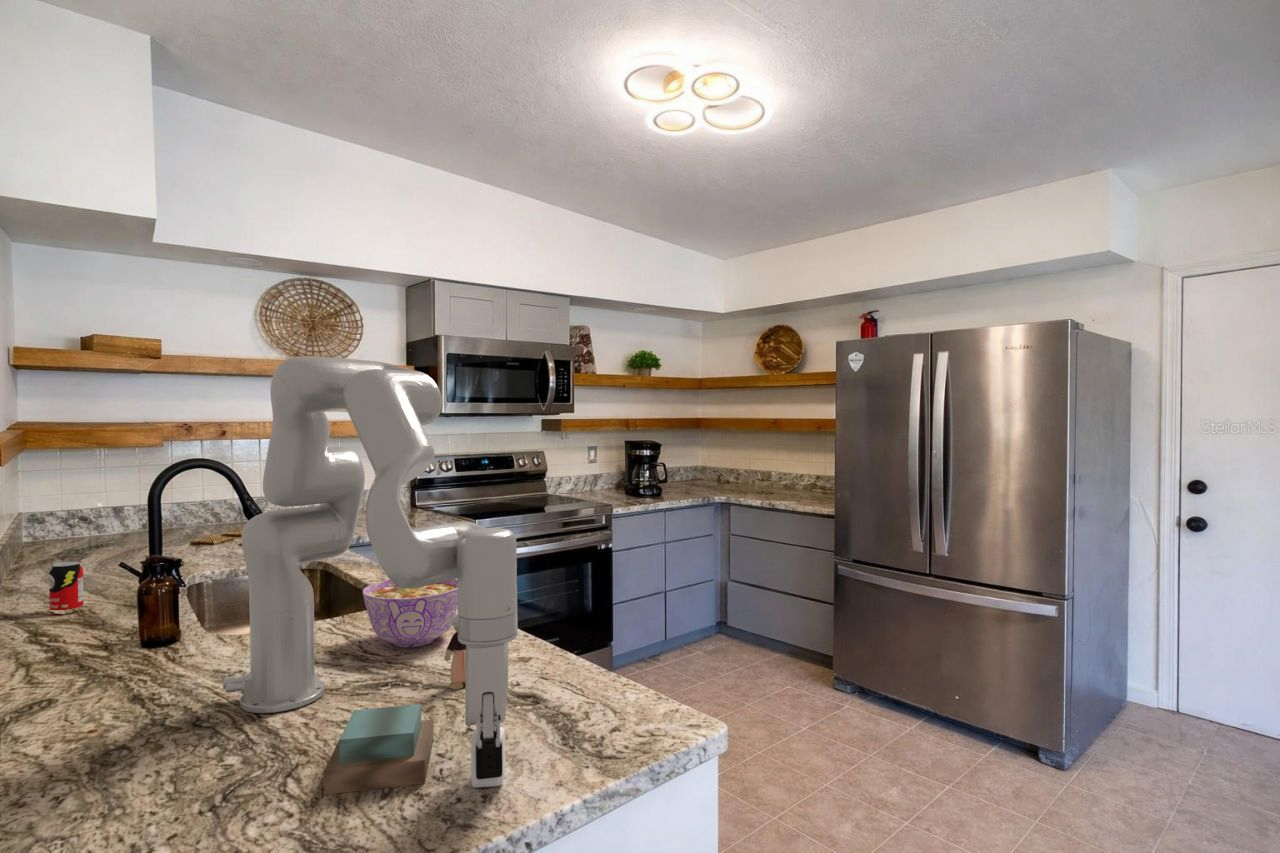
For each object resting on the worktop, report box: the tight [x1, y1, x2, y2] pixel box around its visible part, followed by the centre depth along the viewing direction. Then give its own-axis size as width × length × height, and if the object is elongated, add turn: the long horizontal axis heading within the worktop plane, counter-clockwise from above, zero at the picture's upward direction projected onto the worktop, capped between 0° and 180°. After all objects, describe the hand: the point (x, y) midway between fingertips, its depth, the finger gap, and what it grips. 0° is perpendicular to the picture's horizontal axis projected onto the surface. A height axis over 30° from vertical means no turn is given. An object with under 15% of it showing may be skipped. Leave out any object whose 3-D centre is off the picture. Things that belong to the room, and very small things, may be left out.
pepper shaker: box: [470, 702, 506, 788], centre depth 87 cm, size 4×4×10 cm
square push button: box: [323, 703, 434, 795], centre depth 91 cm, size 12×12×6 cm
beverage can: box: [48, 560, 84, 611], centre depth 166 cm, size 6×6×12 cm
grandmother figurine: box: [443, 612, 466, 690], centre depth 119 cm, size 8×4×13 cm, turn 168°
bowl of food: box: [362, 578, 458, 648], centre depth 143 cm, size 20×20×12 cm
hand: (489, 765), depth 87 cm, fingers closed on pepper shaker, 4 cm apart
